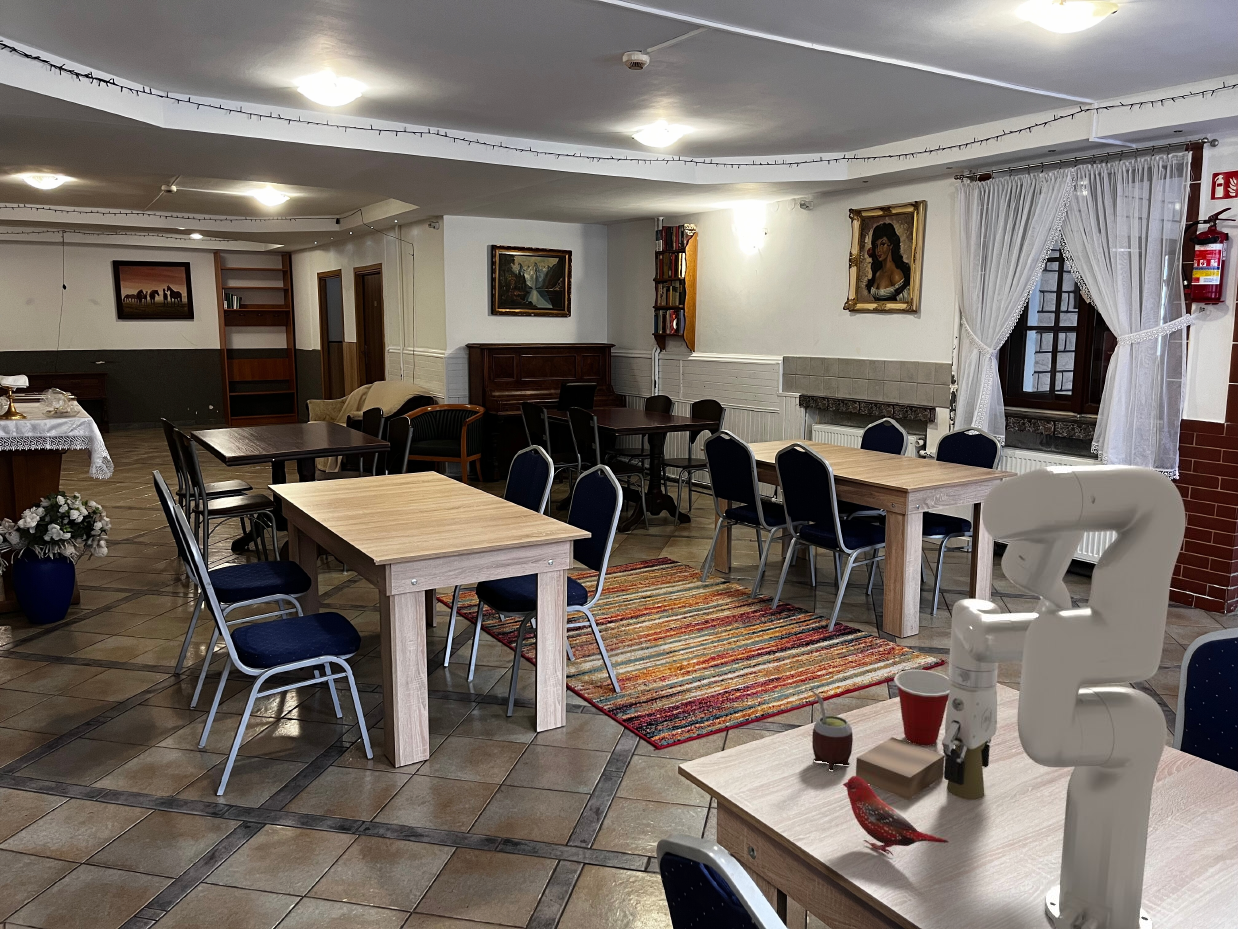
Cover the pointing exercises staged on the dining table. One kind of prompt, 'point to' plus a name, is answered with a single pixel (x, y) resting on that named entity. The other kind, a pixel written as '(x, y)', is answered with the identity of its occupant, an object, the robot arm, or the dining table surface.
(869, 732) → the dining table surface
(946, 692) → the plastic cup
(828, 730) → the mate gourd
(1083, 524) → the robot arm
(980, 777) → the olive pawn figure
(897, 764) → the walnut plinth
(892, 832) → the decorative bird figurine
